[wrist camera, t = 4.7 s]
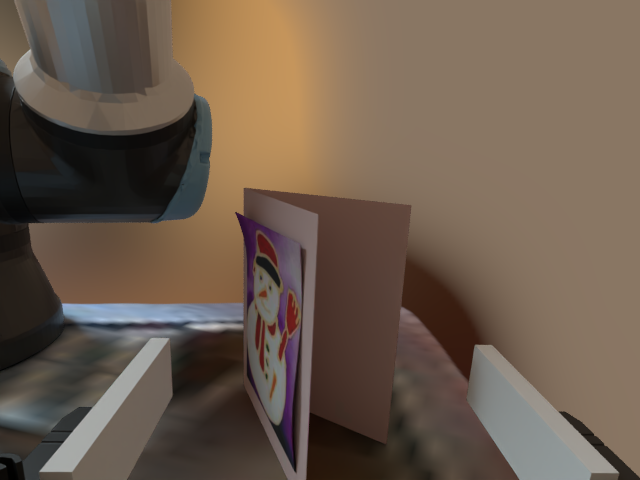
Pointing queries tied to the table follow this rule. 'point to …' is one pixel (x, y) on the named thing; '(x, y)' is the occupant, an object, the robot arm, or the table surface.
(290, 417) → the greeting card
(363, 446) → the table surface
